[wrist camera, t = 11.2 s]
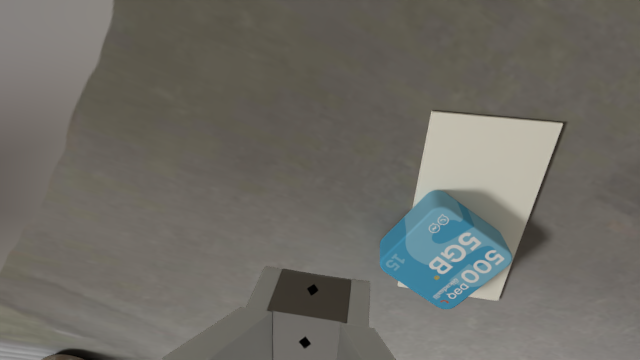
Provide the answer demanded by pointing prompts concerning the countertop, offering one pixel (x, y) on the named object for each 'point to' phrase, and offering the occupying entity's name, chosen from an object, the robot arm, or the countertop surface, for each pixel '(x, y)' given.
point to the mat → (488, 172)
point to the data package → (443, 250)
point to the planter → (61, 357)
